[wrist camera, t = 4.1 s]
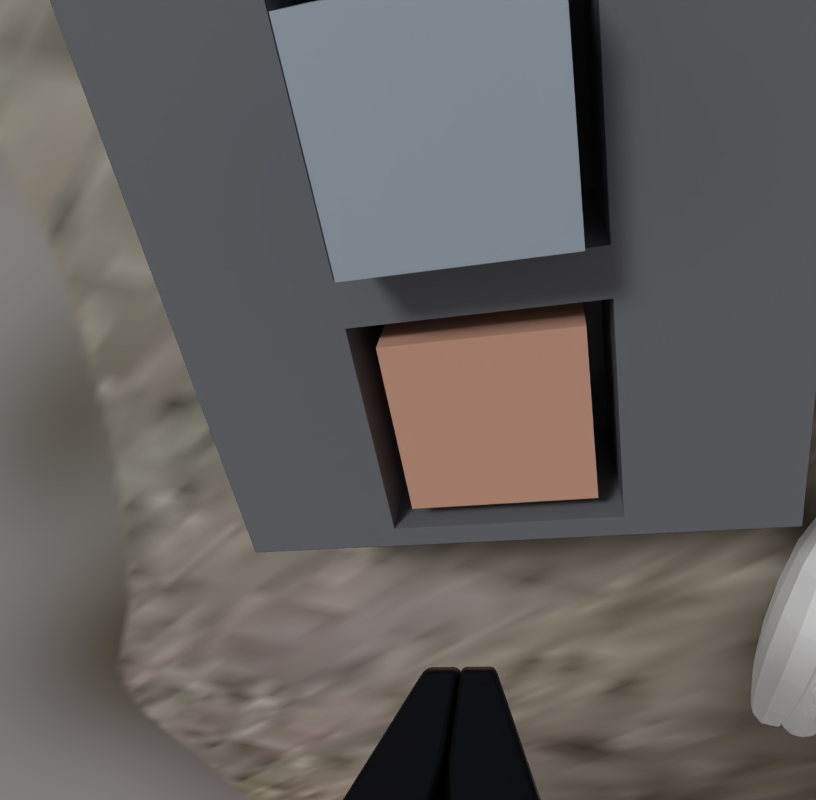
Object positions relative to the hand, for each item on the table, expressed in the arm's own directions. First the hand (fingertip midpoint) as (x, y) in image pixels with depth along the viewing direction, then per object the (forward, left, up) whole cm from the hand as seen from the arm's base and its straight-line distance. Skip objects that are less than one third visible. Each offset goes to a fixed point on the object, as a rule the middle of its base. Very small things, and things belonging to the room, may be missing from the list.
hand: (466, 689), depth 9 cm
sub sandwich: (-8, +10, -11) cm, 17 cm away
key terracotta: (0, +1, -9) cm, 9 cm away
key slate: (0, -5, -8) cm, 9 cm away
